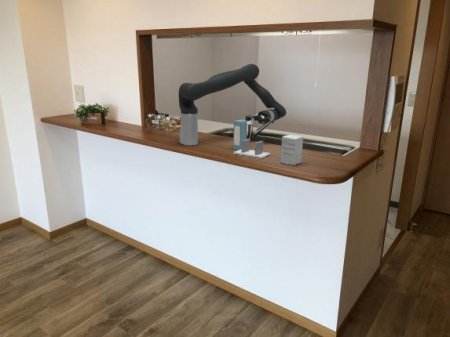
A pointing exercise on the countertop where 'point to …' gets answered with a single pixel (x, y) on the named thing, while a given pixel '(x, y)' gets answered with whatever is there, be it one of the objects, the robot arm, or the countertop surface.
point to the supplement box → (291, 149)
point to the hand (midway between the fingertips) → (252, 120)
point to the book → (239, 133)
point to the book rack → (256, 153)
